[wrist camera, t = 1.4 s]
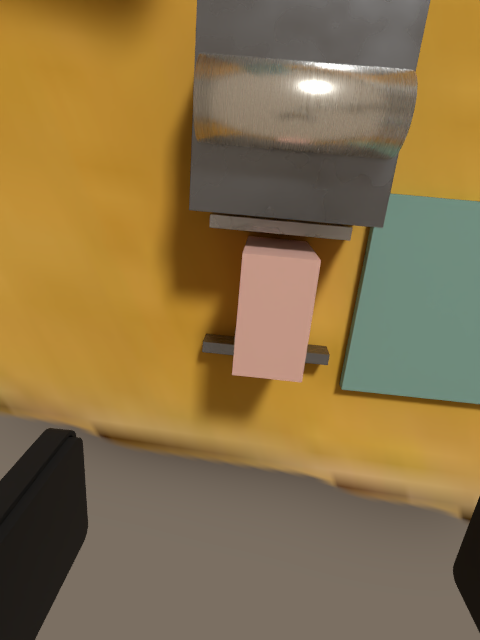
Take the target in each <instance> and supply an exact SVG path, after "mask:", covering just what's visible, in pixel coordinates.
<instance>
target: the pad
mask: <svg viewBox="0 0 480 640" xmlns="http://www.w3.org/2000/svg"><path fill="white" fill-rule="evenodd" d="M340 387H341V389H343V390H352V391H361V392H371V393H380V394H390V395H399V396H408V397H418V398H427V399H436V400H446V401H455V402H465V403H474V404H480V202H477V201H466V200H455V199H444V198H433V197H422V196H411V195H399V194H390V197H389V201H388V206H387V211H386V216H385V221H384V225H383V228H377V227H370V232H369V237H368V242H367V247H366V252H365V257H364V262H363V268H362V273H361V278H360V283H359V288H358V293H357V298H356V303H355V308H354V313H353V318H352V324H351V329H350V334H349V339H348V344H347V349H346V354H345V359H344V364H343V369H342V374H341V379H340Z"/></svg>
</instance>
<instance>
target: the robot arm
mask: <svg viewBox="0 0 480 640" xmlns="http://www.w3.org/2000/svg"><path fill="white" fill-rule="evenodd" d="M85 486H86V485H85V469H84V455H83V441H82V439H81V438H77V437H76V433H75V432H74V431H72V430H63V429H53V428H49V429H46V430H45V431H44V432H43V433H42V434H41V435H40V437H39V438H38V439H37V440H36V441H35V442H34V443H33V444H32V446H31V447H30V448H29V449H28V450H27V451H26V452H25V453H24V455H23V456H22V457H21V458H20V459H19V460H18V461H17V462H16V464H15V465H14V466H13V467H12V468H11V469H10V470H9V471H8V473H7V474H6V475H5V476H4V477H3V478H2V479H1V481H0V640H35V638H36V636H37V634H38V632H39V630H40V628H41V626H42V624H43V622H44V620H45V618H46V616H47V614H48V612H49V610H50V608H51V606H52V604H53V602H54V600H55V598H56V596H57V594H58V592H59V590H60V588H61V586H62V584H63V582H64V580H65V578H66V576H67V574H68V572H69V570H70V568H71V566H72V564H73V562H74V560H75V558H76V556H77V554H78V552H79V550H80V548H81V546H82V544H83V542H84V540H85V537H86V534H87V529H88V516H87V501H86V487H85ZM453 575H454V579H455V583H456V585H457V587H458V589H459V591H460V593H461V595H462V597H463V599H464V601H465V604H466V605H467V608H468V610H469V611H470V614H471V616H472V618H473V620H474V622H475V624H476V626H477V628H478V630H479V632H480V497H479V499H478V502H477V505H476V507H475V510H474V512H473V515H472V518H471V520H470V523H469V526H468V529H467V531H466V534H465V536H464V539H463V542H462V544H461V547H460V550H459V553H458V555H457V558H456V560H455V563H454V566H453Z"/></svg>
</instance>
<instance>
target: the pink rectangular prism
mask: <svg viewBox="0 0 480 640" xmlns="http://www.w3.org/2000/svg"><path fill="white" fill-rule="evenodd" d="M320 264H321V260H320V259H319V257H318V256H317V254H316V253H315V252H314V250H313V249H312V247H311V246H310V245H309V243H308V242H307V241H298V240H287V239H277V238H266V237H256V236H248V239H247V242H246V245H245V248H244V251H243V254H242V266H241V277H240V289H239V300H238V312H237V323H236V330H235V340H234V358H233V369H232V375H238V376H247V377H256V378H266V379H275V380H285V381H294V382H302V378H303V371H304V365H305V359H306V353H307V346H308V340H309V334H310V327H311V321H312V315H313V308H314V302H315V296H316V289H317V283H318V277H319V270H320Z"/></svg>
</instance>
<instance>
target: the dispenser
mask: <svg viewBox="0 0 480 640" xmlns="http://www.w3.org/2000/svg"><path fill="white" fill-rule="evenodd" d="M429 4H430V0H197V19H196V46H195V72H194V90H193V124H192V151H191V177H190V203H189V210H194V211H205V212H216V213H212V214H210V226H209V227H211V228H222V229H232V230H243V231H254V232H264V233H275V234H286V235H296V236H307V237H317V238H328V239H339V240H349V241H350V239H351V233H352V227H350V226H348V225H356V226H366V227H377V228H383V225H384V221H385V216H386V211H387V206H388V201H389V197H390V192H391V187H392V182H393V177H394V172H395V168H396V163H397V158H398V153H399V151H400V149H401V147H402V145H403V143H404V141H405V138H406V136H407V133H408V130H409V127H410V124H411V120H412V117H413V113H414V108H415V103H416V96H417V75H416V72H415V71H416V66H417V62H418V57H419V52H420V47H421V42H422V38H423V33H424V28H425V23H426V18H427V14H428V9H429ZM220 213H226V214H220ZM231 214H237V215H231ZM242 215H248V216H242ZM253 216H259V217H253ZM263 217H270V218H263ZM274 218H280V219H274ZM285 219H291V220H285ZM296 220H302V221H296ZM307 221H313V222H307ZM317 222H323V223H317ZM328 223H334V224H328ZM339 224H345V225H339ZM234 340H235V337H230V336H221V335H211V334H206V335H205V338H204V340H203V350H202V352H207V353H217V354H227V355H234ZM328 360H329V352H328V350H327V347H326V346H318V345H308V346H307V353H306V359H305V363H313V364H322V365H328Z"/></svg>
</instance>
